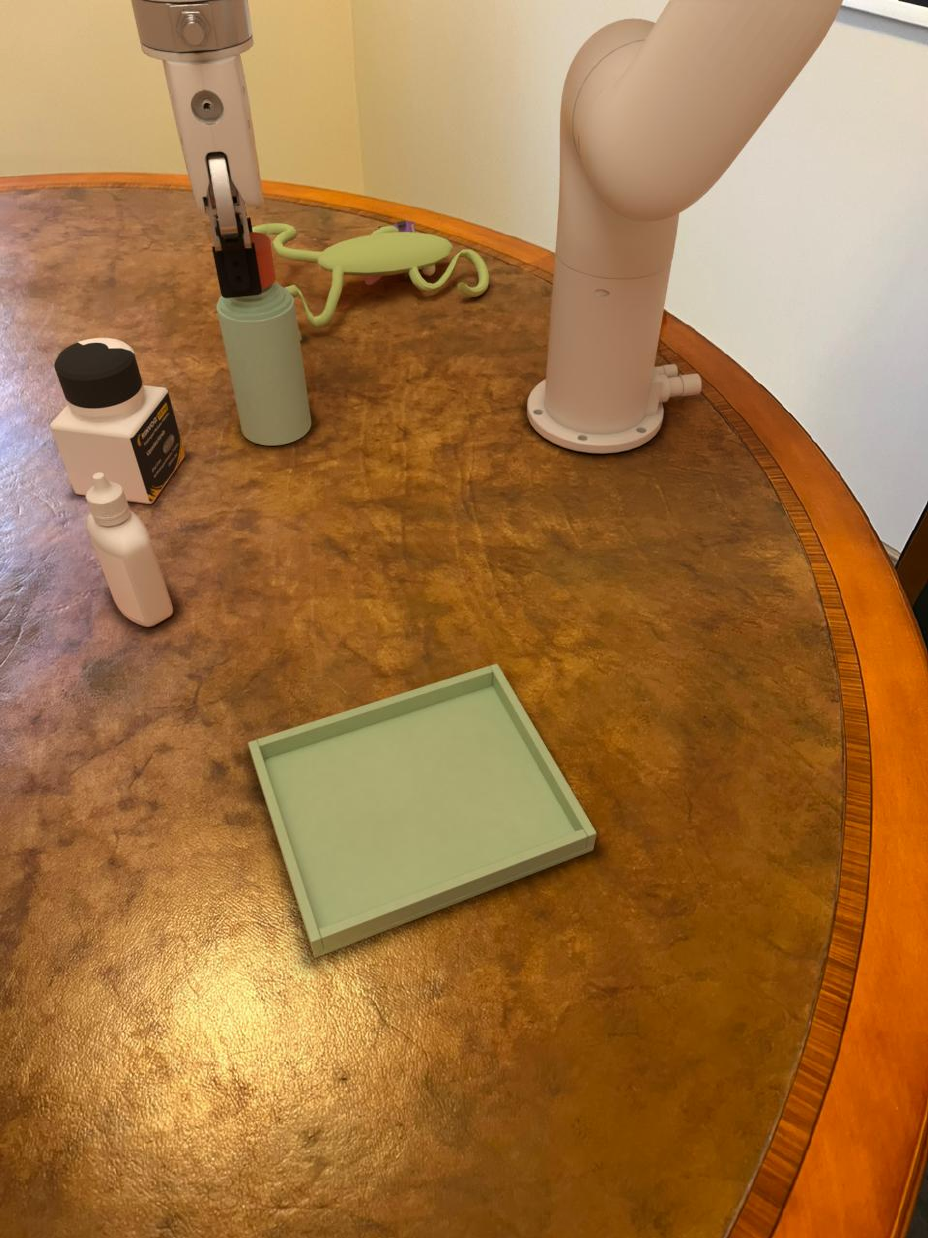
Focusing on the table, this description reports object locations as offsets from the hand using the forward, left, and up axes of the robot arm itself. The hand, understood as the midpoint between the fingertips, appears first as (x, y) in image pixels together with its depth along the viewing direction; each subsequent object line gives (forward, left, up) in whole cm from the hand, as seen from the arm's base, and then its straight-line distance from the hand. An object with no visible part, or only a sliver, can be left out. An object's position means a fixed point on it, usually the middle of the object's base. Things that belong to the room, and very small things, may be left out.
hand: (240, 279), depth 76 cm
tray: (-6, +43, -14) cm, 46 cm away
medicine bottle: (+12, +5, -14) cm, 19 cm away
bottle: (-1, 0, -14) cm, 14 cm away
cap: (-1, 0, 0) cm, 1 cm away
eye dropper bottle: (+11, +21, -14) cm, 28 cm away
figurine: (-12, -25, -14) cm, 31 cm away
